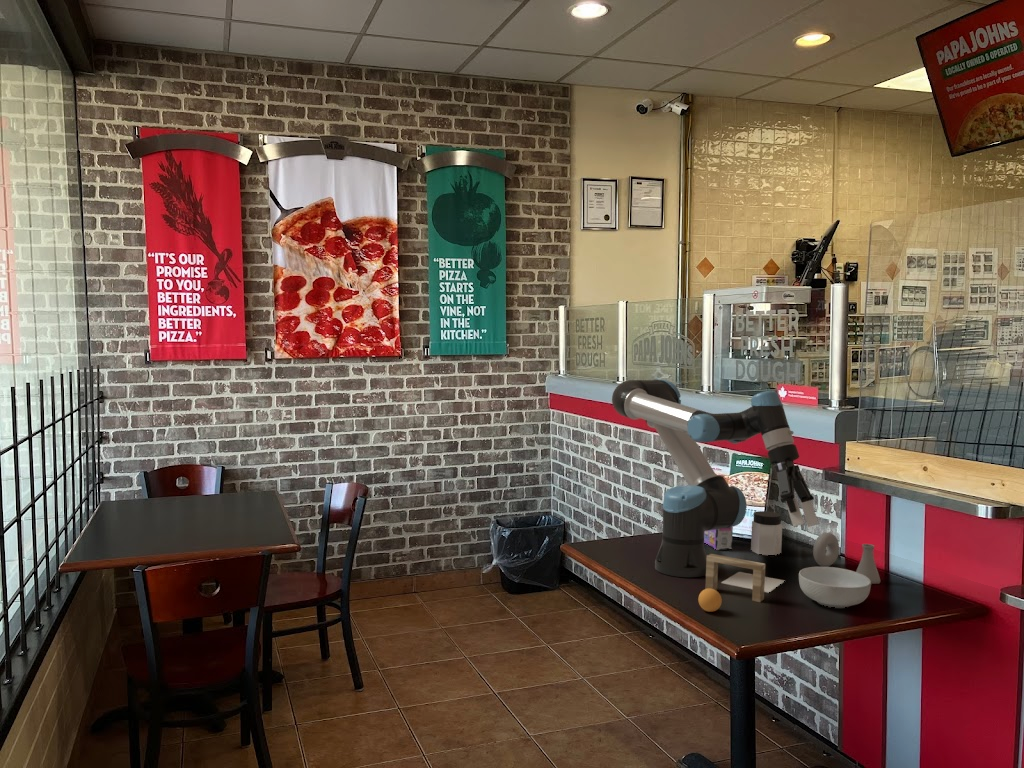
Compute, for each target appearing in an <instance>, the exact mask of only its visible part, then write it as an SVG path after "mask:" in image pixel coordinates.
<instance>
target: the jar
mask: <svg viewBox="0 0 1024 768" xmlns="http://www.w3.org/2000/svg"><path fill="white" fill-rule="evenodd" d="M750 540H751V541H750V551H751V550H752V551H751V552H752V553H755V554H757V555H759V554H762V555H761V556H768V555H775V556H777V554H778V555H780V553H781V554H782V544H783V543H782V541H783V523H782V515H781V514H780V513H778V512H775V511H774V512H773V511H766V510H763V511H762V510H759V511H755V512H753V521H751V537H750Z"/></svg>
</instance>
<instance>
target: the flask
mask: <svg viewBox="0 0 1024 768" xmlns="http://www.w3.org/2000/svg"><path fill="white" fill-rule="evenodd" d="M861 545H862V547H861V548H862V555H861V559H860V561H859V563H858V566H857V568H856V571H855V572H857V573H860V574H862V575H864V576H866V577H868V578H869V579H870V581H871V585H873V584H874V585H876V584H878V585H879V584H880V583H881V582H882V581H881V578H880V574H879V571H878V569H877V565H876V561H875V558H874V557H875V556H874V549H875V547H876V545H874V544H871V543H862V544H861Z"/></svg>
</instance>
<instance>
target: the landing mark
mask: <svg viewBox="0 0 1024 768" xmlns="http://www.w3.org/2000/svg"><path fill="white" fill-rule="evenodd" d="M784 581H785V582H786V580H784V579H779V578H775V577H774V578H773V577H768V576H765V585H764V593H767V594H769V592H770V593H771V592H772V591H774V590H775V589H776V587H777V588H778V587H780V586H781V585H782V584H784V583H785V582H784ZM720 583H721V584H722V585H723V584H724V585H728V586H733V587H739V588H744V589H747V590H748V589H749V590H752V589H753V573H747V572H744V571H738V572H736V573H735V574H733V575H731V576H729V577H728V578H726V579H724V580H723V581H721V582H720ZM780 584H781V585H780Z"/></svg>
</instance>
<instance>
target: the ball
mask: <svg viewBox="0 0 1024 768" xmlns="http://www.w3.org/2000/svg"><path fill="white" fill-rule="evenodd" d="M697 601H698V604H699V606H700V608H701V609H702V610H703V611H705V612H708V613H709V612H710V613H712V612H716V611H718V609H720V608H721V606H722V603H723V602H722V601H723V600H722V596H721V594H720V593H719V591H717V590H714V589H711V588H708V589H705V588H704V589H703V590H701V591H700V593H699V595H698V599H697Z"/></svg>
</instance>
